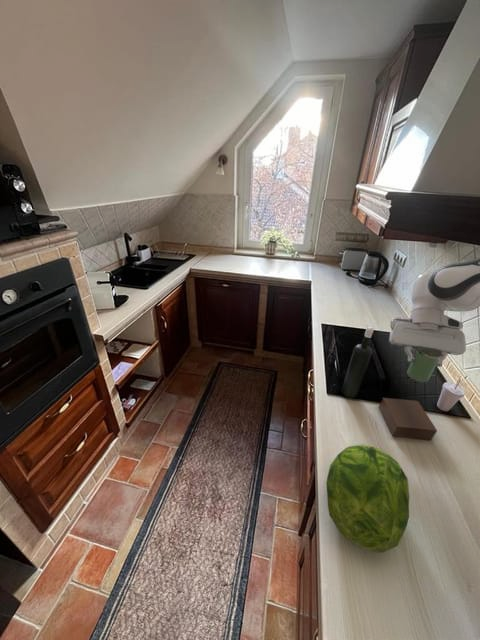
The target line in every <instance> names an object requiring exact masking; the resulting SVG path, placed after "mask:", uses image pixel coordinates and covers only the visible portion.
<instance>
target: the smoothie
mask: <svg viewBox="0 0 480 640" xmlns="http://www.w3.org/2000/svg"><path fill="white" fill-rule="evenodd" d="M461 382H462V379H460V378H459V379H458V381H457V382H456V383H454V382H452V381H446V382H443V384H442V386H441V388H442V389H441V392H440V395H439V397H438V399H437V403H436V407H437V408H438V409H439V410H440V411H443V412H449V411H450V410H451V409H452V408H453V407H454V406H455V405H456V404H457V402H458V401H459V400H461V398H463V397H464V396H465V395H466V393H467V392H466V390H465V388H464V387H462V386H461V385H460V384H461Z"/></svg>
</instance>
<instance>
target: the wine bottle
mask: <svg viewBox="0 0 480 640" xmlns="http://www.w3.org/2000/svg"><path fill="white" fill-rule="evenodd" d="M374 330H375V328H374V327H373V326H368V325H367V326H366V329H365V332H364V336H363V339H362V343H359V344H357V345H355V346H354V347H353V350H352V354H351V358H350V361H349V363H348V367H347V371H346V373H345V377H344V380H343V383H342V386H341V390H340V391H341V394H342V395H343V396H344V397H345V398H347V399H355V398H357V396H358V394H359V391H360V388H361V386H362V383H363V380H364V377H365V375H366V371H367V369H368V366H369V363H370V360H371V356H372V355H373V349H372V348H371V347H370V346H369V344H370V342H371V338H372V337H373V333H374Z"/></svg>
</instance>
